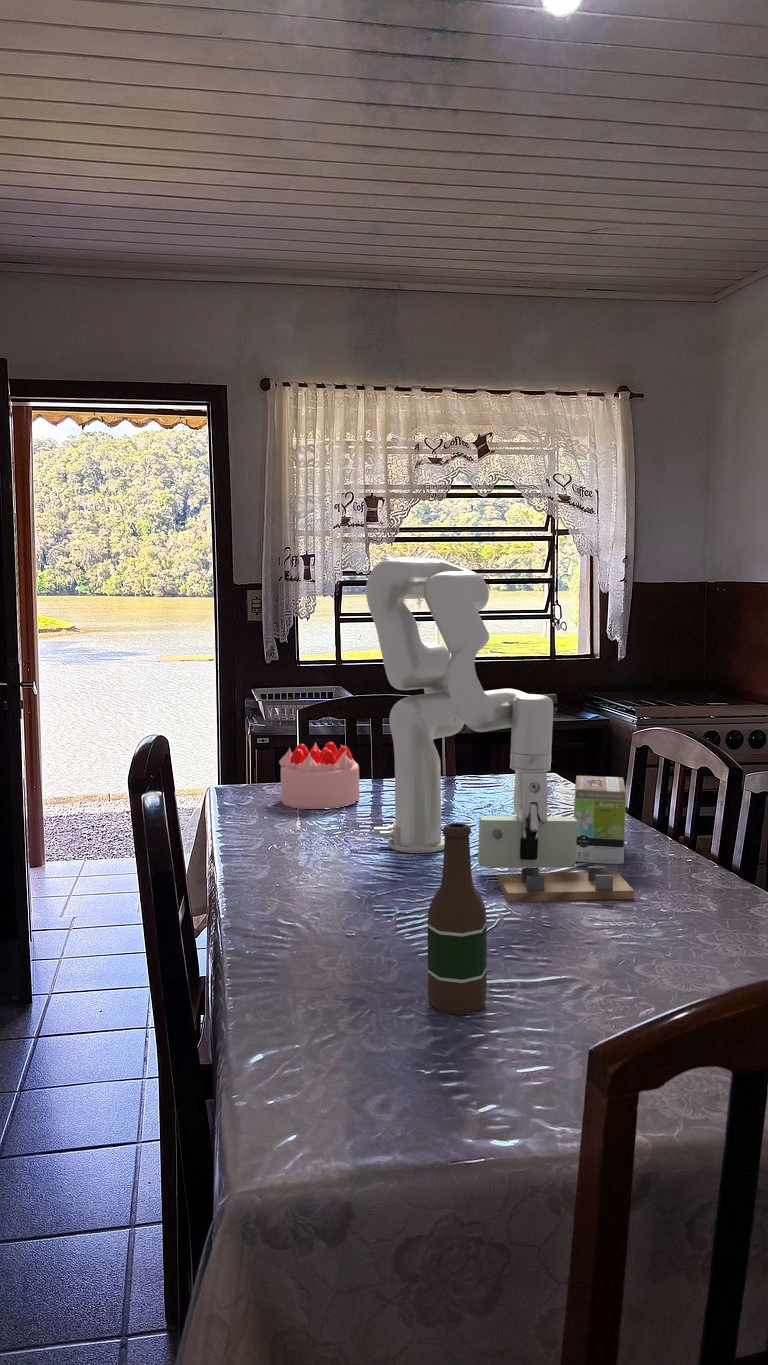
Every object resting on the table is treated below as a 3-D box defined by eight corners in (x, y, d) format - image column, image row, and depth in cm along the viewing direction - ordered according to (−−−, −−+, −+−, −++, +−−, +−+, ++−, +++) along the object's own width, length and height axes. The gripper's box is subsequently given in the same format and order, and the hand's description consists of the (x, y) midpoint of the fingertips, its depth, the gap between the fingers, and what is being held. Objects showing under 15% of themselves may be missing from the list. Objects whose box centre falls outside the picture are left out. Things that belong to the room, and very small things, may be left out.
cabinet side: (507, 901, 170) (507, 893, 170) (498, 882, 181) (498, 874, 181) (633, 899, 171) (633, 890, 171) (616, 879, 182) (616, 871, 182)
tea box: (625, 865, 191) (626, 790, 190) (572, 863, 193) (573, 788, 192) (622, 845, 206) (623, 775, 204) (573, 842, 208) (574, 773, 206)
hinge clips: (527, 891, 171) (527, 877, 171) (521, 881, 177) (521, 867, 176) (612, 889, 171) (613, 875, 171) (604, 879, 177) (604, 866, 177)
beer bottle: (424, 992, 133) (423, 818, 131) (481, 990, 134) (481, 817, 131) (431, 1018, 126) (430, 833, 123) (492, 1015, 126) (492, 831, 124)
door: (480, 868, 184) (482, 821, 183) (477, 861, 188) (479, 815, 187) (576, 869, 184) (578, 822, 183) (571, 862, 188) (573, 816, 187)
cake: (357, 810, 238) (357, 752, 237) (275, 811, 239) (274, 753, 237) (360, 793, 258) (360, 739, 256) (284, 793, 258) (283, 740, 257)
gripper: (559, 770, 176) (555, 870, 178) (542, 752, 192) (538, 843, 195) (517, 770, 176) (514, 869, 178) (503, 751, 192) (500, 843, 194)
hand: (526, 855), depth 186 cm, fingers closed on door, 3 cm apart
